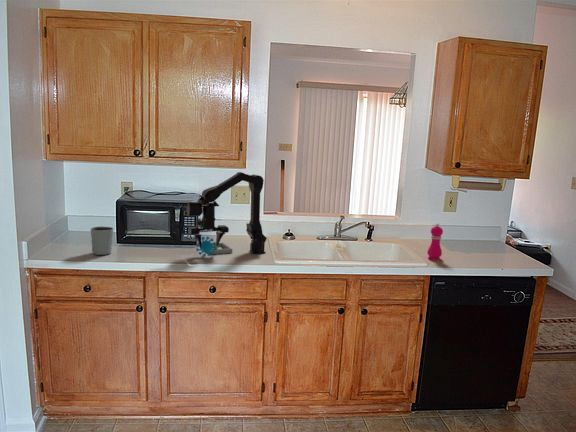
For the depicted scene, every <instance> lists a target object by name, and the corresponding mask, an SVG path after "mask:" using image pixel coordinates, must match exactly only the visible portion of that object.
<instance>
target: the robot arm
mask: <svg viewBox="0 0 576 432" xmlns="http://www.w3.org/2000/svg"><path fill="white" fill-rule="evenodd" d="M264 181H265V180H264V177H262V176H261V175H258V174H247V173H244V172H242V171H238V172H236V174H234V175H232V176H231V177H228V178H227V179H226V180H224V181H222V182H221V183H219V184H217V185H214V186H211V187H208V188H206V189H203V191H201V192H202V193H201V196H200V197H199V199H198V200H197V201H194V202H193V201H188V202H187V205H186V215H187V217H200V216H201V215H202V217H201V219H200V218H197V219H195V226H189V227H188V229H187V231H188V232H187V233H188V234H190V235H193V236H195V238H196V241H197V244H198V245H199V247H198V248H199V249H200V248H201V243H202V234H201V233H205V232H207V233H209V232H215V234H216V236H215V237H216V238H215V242H216V247H217V246H218V244H219V243H221V239H222V238H223V236H224V235H226V233H229V231H230V229H229V227H228V226H227V225H225V224H223V225H220V224H219V225H217V226H216V223H215V221H216V218H215V217H216V216H215V215H216V213H215V212H216V210H215V209H216V208H215V207H220V204H218V203H217V199H219V198H220V196H221V195H222V194H223V193H225V192H226V191H228V190H230V189H231V188H232V187H234V186H235V185H238V184H239V183H241V182H246V183H248V188H249V191H250V221H249V222H247V223H246V232H247V235H248V236H249V237H250V240H251V242H250V244H249V252H250V253H253V254H255V255H257V254H266V251H265V244H266V241H267V237H266V236H265V235H264V234H263V227H262V223H261V221H260V219H261V218H260V214H261V213H260V212H261V192H262V191H263V187H264ZM198 226H199V227H198Z"/></svg>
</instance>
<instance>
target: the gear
mask: <svg viewBox="0 0 576 432" xmlns="http://www.w3.org/2000/svg"><path fill="white" fill-rule="evenodd" d="M213 241H214V239H213V238H210V237H209V236H206V238H205V236H201V248H200V247H199V244H198V243H196V244H195V247H197V248H196V249H195V250H196V252H198V255H199V256H202V257H204V258H205V257H206V255H207V256H208V257H210V256H211V255H212V254H213V253H214V251H213V250H215V251H217V249H219V248H220V246H219V247H218V246H217V247H213V246H212V244H214V245H216V241H214V242H213ZM210 250H211V251H212V252H211V253H212V254H211V253H210Z"/></svg>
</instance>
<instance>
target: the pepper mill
mask: <svg viewBox="0 0 576 432" xmlns="http://www.w3.org/2000/svg"><path fill="white" fill-rule="evenodd" d="M443 233H444V230H443V228H442V227H441V226H440V223H436V224H435V226H433V227H432V228H431V229H430V234H431V236H430V238H431V242H430V245H429V247H428V249H427V256H428V257H427V259H428V260H431V261H440V260H441V258H440V257H442V255H443V252H442V247H441V239H442V235H443Z"/></svg>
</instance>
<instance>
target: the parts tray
mask: <svg viewBox="0 0 576 432" xmlns="http://www.w3.org/2000/svg"><path fill="white" fill-rule="evenodd" d="M212 246H213V247H216V245H214V244H212ZM218 247H219V248H220V247H223V248H220V249H219V248H218V249H217V251H215V250H213V251H214V253H213V254H212V253H211V252H212V251H211V250H210V255H211V256H212V255H225V254H233V248H232V247H230V246H229V245H227V244H226V243H225V242H219V244H218Z"/></svg>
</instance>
